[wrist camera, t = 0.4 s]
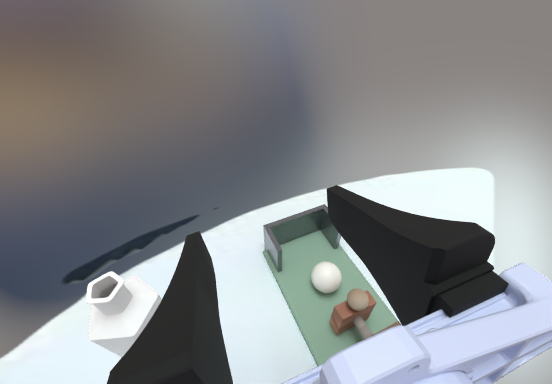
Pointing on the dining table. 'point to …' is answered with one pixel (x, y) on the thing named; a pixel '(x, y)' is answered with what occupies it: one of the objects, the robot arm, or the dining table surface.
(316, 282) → the ball
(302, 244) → the pitch mat
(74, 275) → the dining table surface
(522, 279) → the robot arm
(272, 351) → the dining table surface
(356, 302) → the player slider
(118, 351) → the perfume bottle
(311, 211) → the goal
